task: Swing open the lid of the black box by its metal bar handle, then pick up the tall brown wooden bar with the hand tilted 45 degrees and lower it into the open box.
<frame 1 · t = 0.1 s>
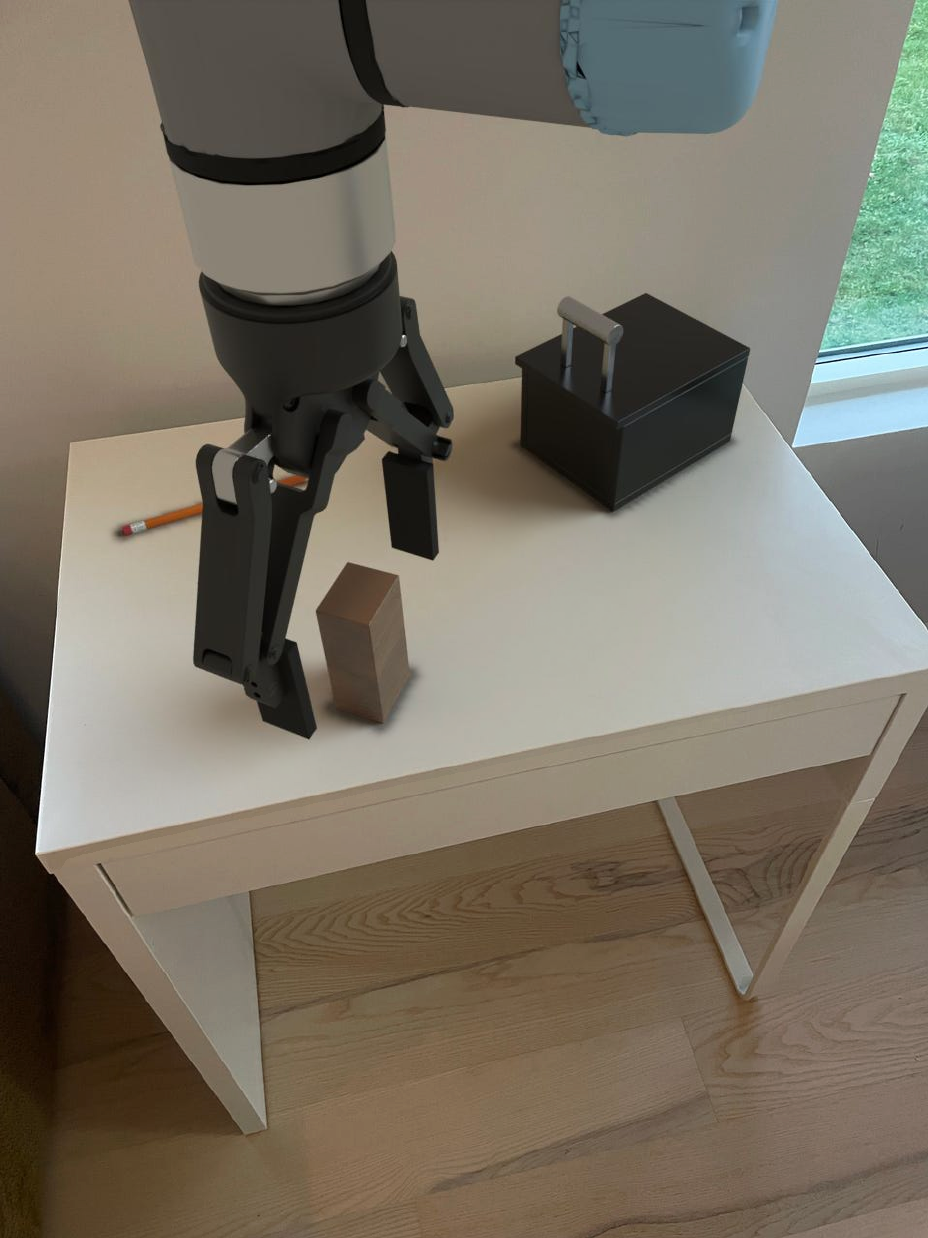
hand: (357, 631, 52), 20 cm above the table, tool pointing down, fingers open, 13 cm apart
tall brown wooden bar: (373, 691, 74), on the table
box lid: (636, 324, 84), point 13 cm above the table, hinge at 0.0°
black box: (624, 443, 94), on the table
pencil: (227, 506, 90), on the table
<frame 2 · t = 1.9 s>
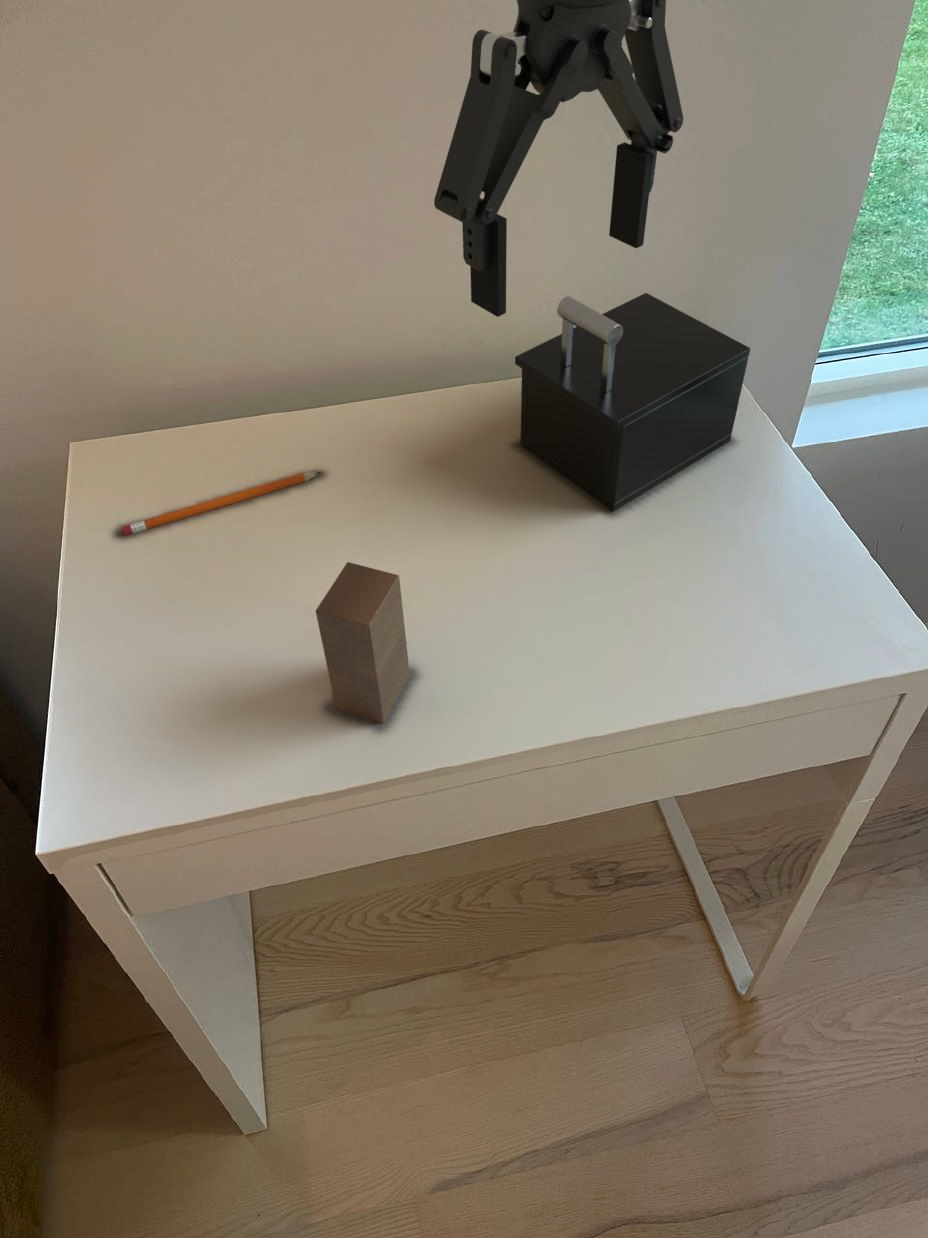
hand: (560, 272, 69), 24 cm above the table, tool pointing down, fingers open, 13 cm apart
nothing on the table moved.
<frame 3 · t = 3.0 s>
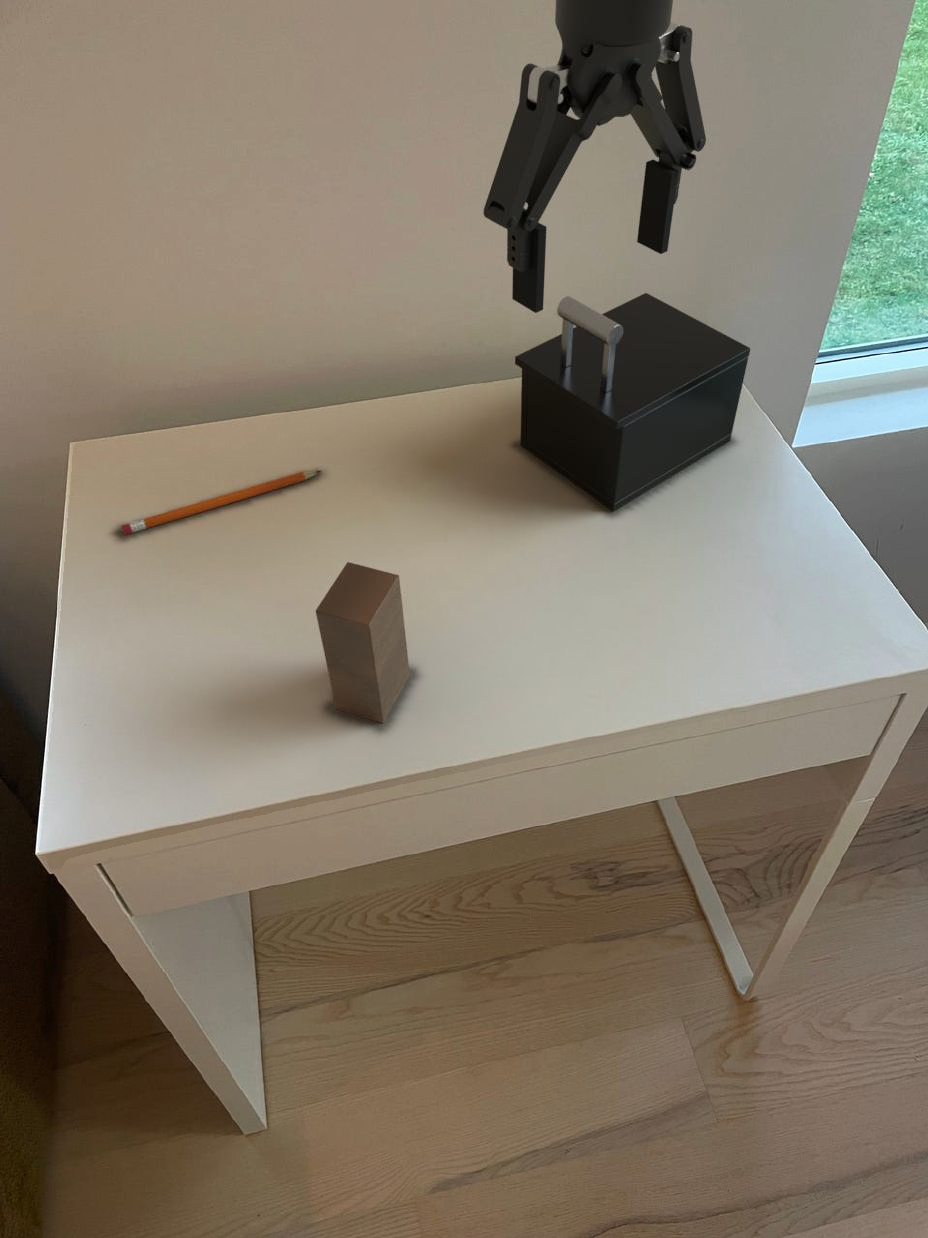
hand: (592, 274, 77), 20 cm above the table, tool pointing down, fingers open, 13 cm apart
nothing on the table moved.
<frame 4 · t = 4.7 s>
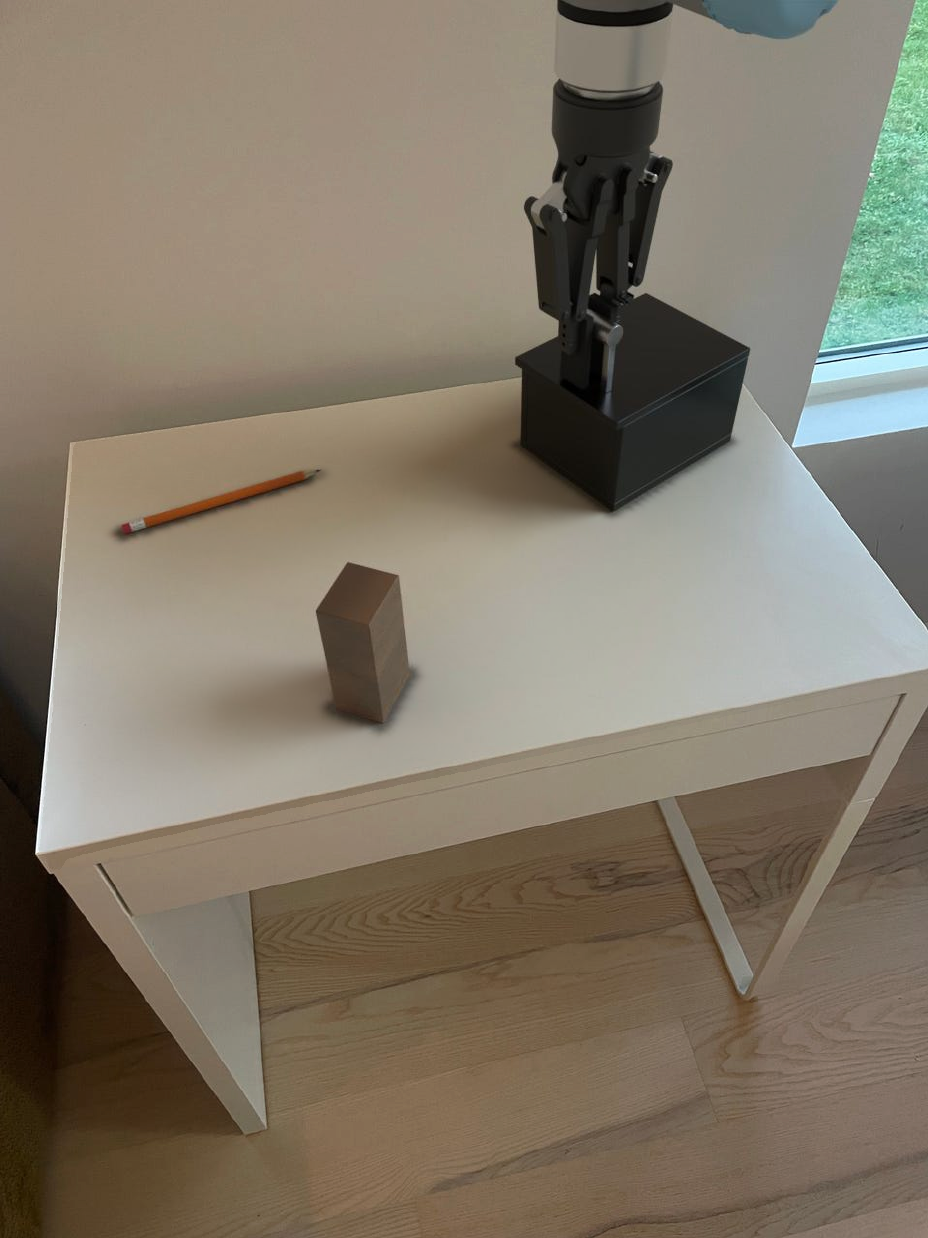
hand: (585, 374, 84), 11 cm above the table, tool pointing down, fingers open, 2 cm apart
box lid: (635, 324, 84), point 13 cm above the table, hinge at -0.2°, touching black box
everything else where it was.
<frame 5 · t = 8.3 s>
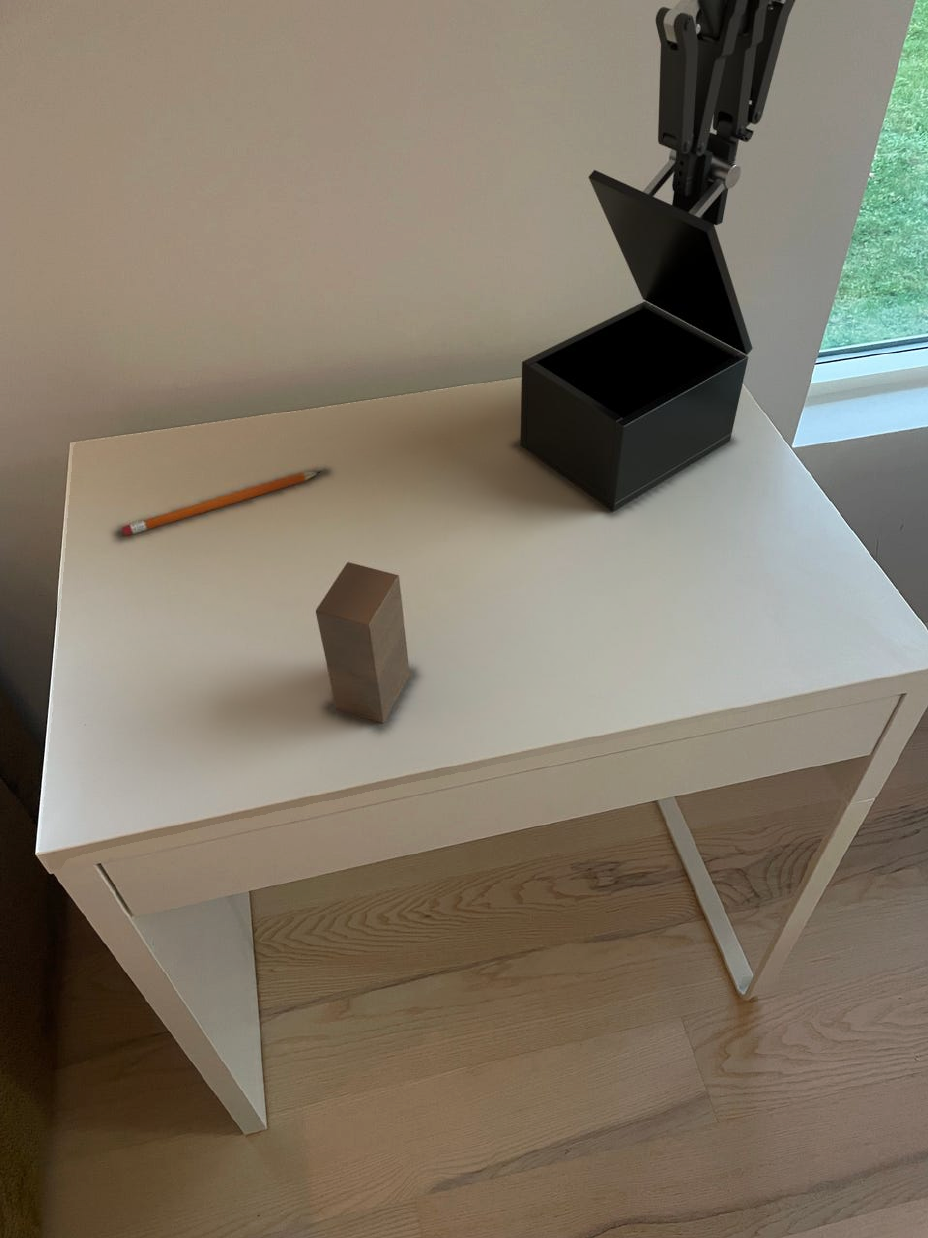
hand: (695, 223, 81), 20 cm above the table, tool pointing down, fingers open, 2 cm apart
box lid: (698, 237, 83), point 19 cm above the table, hinge at 58.8°, touching gripper
everything else where it was.
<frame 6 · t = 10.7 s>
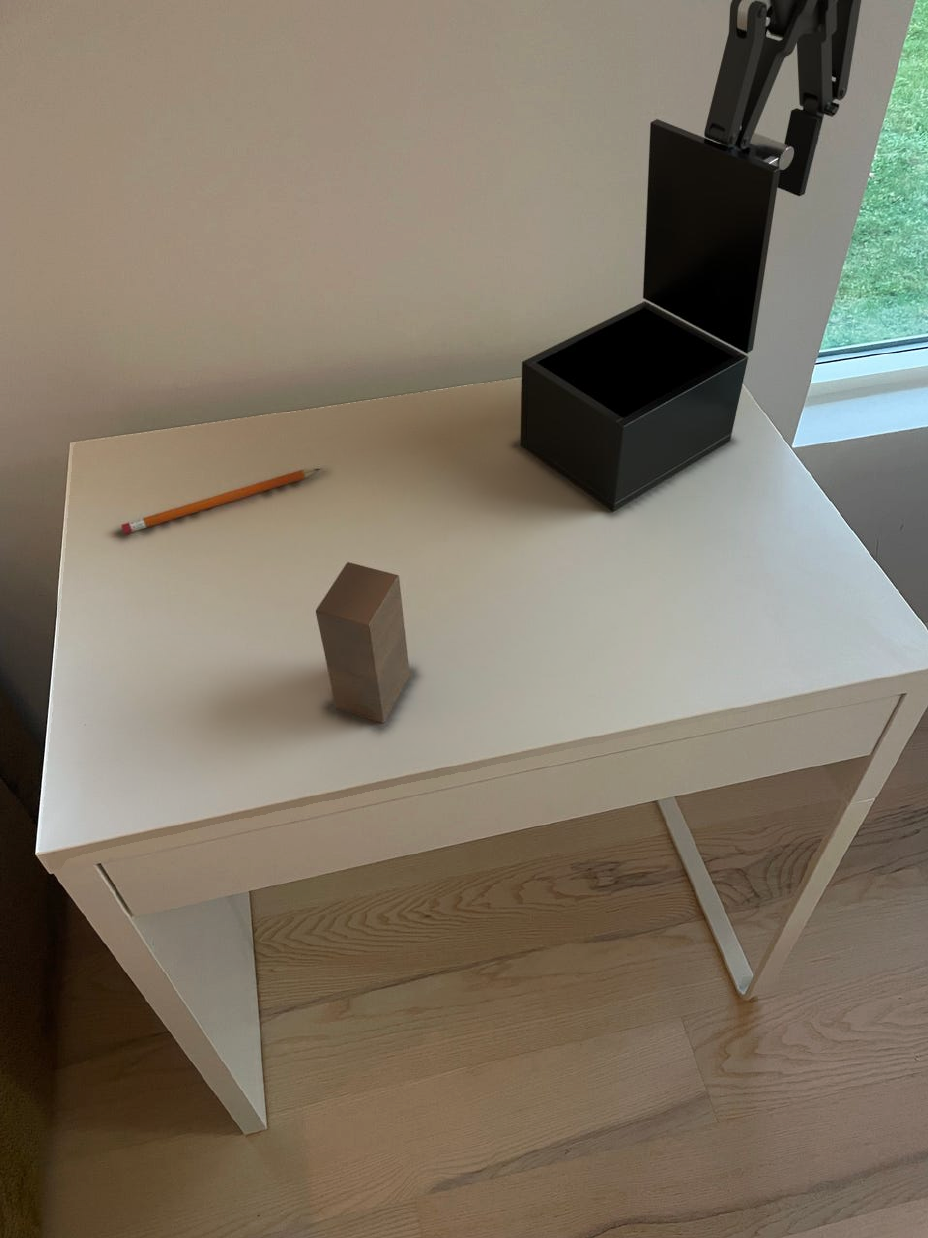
hand: (758, 204, 85), 19 cm above the table, tool pointing down, fingers open, 8 cm apart
box lid: (728, 225, 84), point 18 cm above the table, hinge at 84.1°, touching gripper
everything else where it was.
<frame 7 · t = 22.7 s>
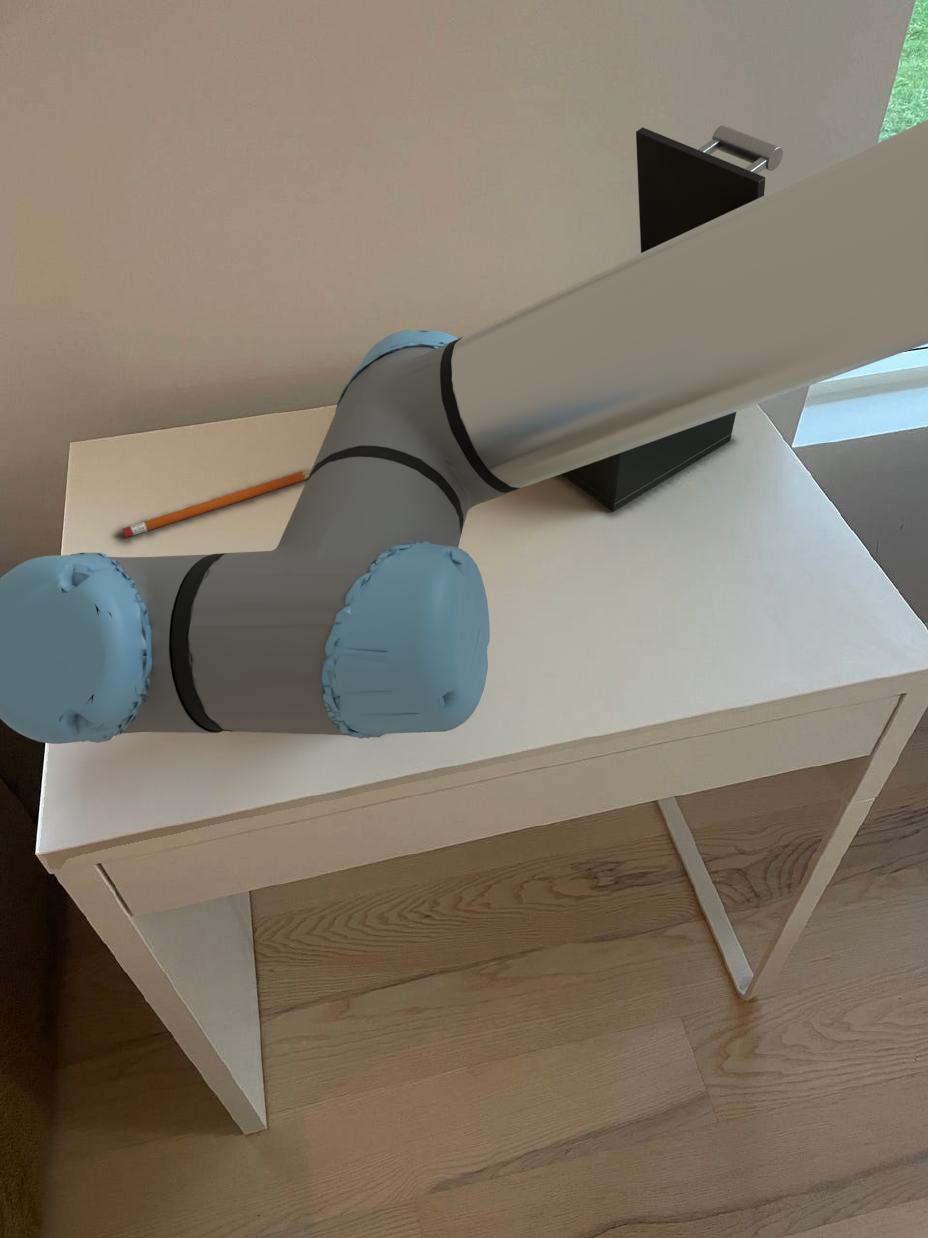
hand: (389, 624, 74), 4 cm above the table, tool tilted 45°, fingers closed on tall brown wooden bar, 4 cm apart
tall brown wooden bar: (373, 691, 74), on the table, touching gripper
box lid: (722, 226, 84), point 19 cm above the table, hinge at 78.3°
everything else where it was.
when the fingers open (11 cm above the table, at t = 34.4 s): tall brown wooden bar drops 7 cm, resting on black box.
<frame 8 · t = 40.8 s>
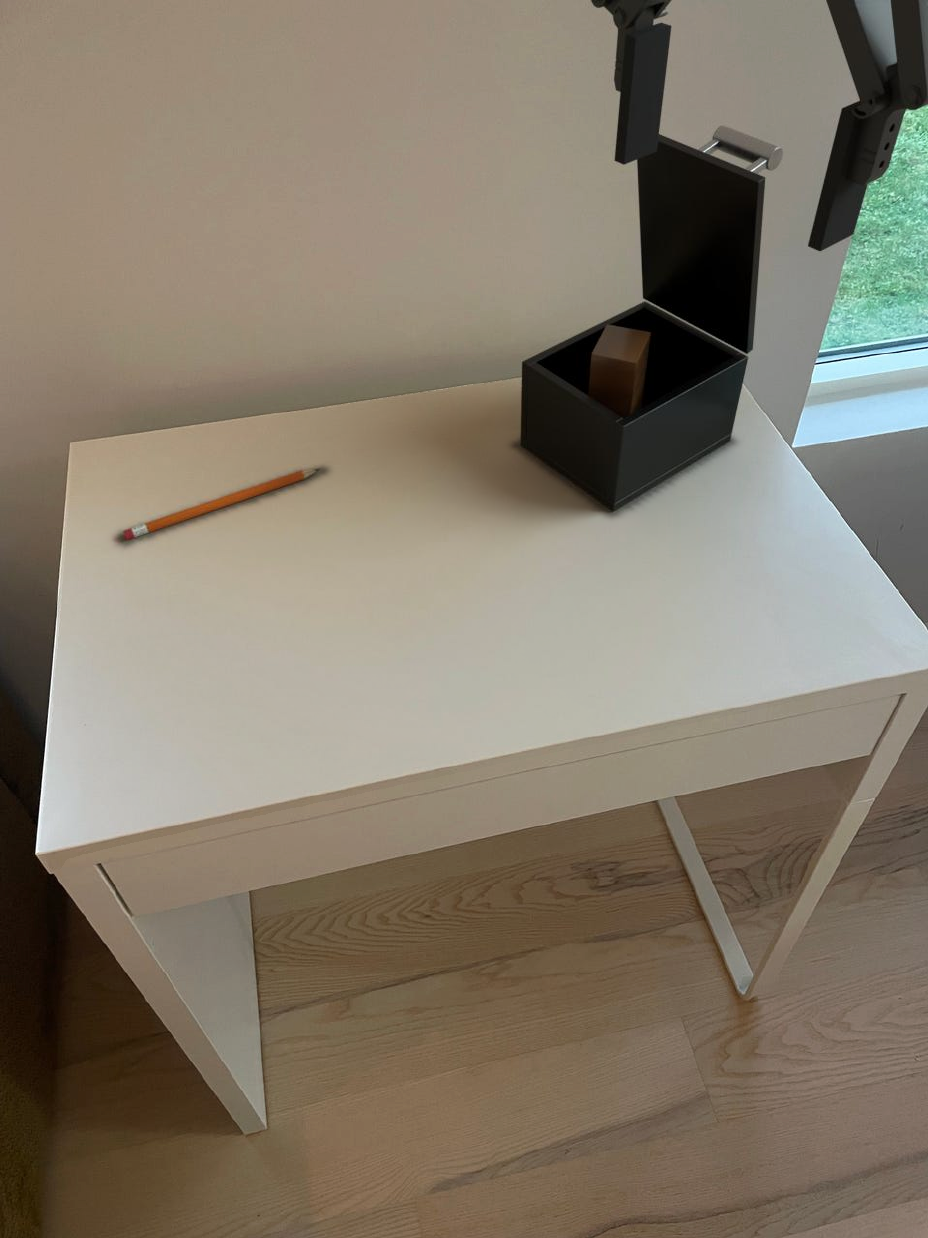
hand: (726, 195, 52), 35 cm above the table, tool pointing down, fingers open, 13 cm apart
tall brown wooden bar: (610, 444, 92), point 1 cm above the table, touching black box
everything else where it was.
at the end: box lid at +78° (first picture: +0°); tall brown wooden bar inside the target area in the black box (2.0 cm from its centre), point 0.9 cm above the black box's base; the gripper is holding nothing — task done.
